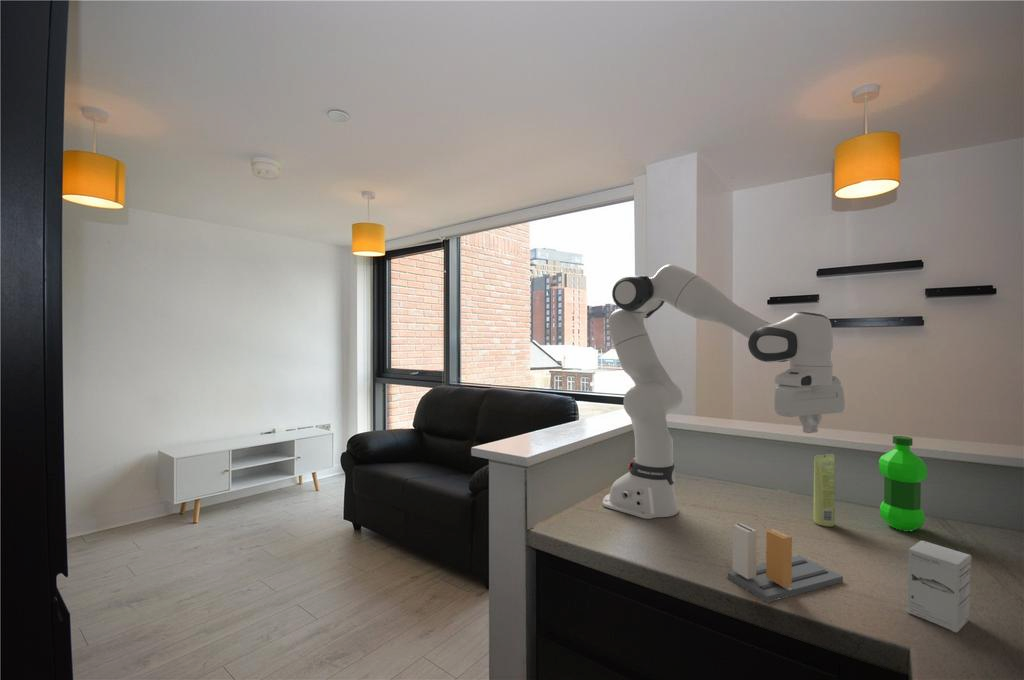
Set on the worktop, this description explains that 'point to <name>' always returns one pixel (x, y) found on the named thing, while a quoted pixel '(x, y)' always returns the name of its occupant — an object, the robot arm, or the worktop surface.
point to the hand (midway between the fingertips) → (810, 432)
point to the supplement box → (939, 585)
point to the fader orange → (779, 557)
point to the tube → (824, 490)
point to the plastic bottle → (902, 486)
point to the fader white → (744, 550)
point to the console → (803, 580)
